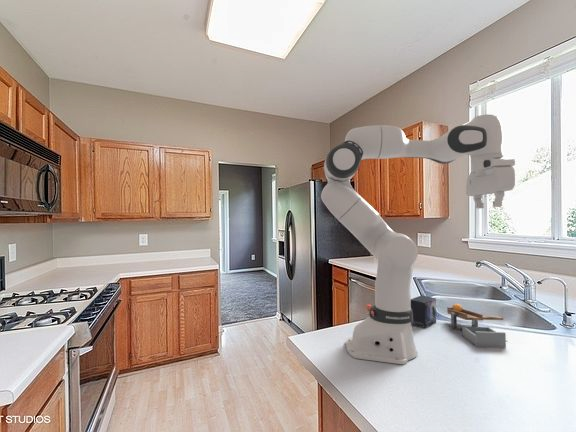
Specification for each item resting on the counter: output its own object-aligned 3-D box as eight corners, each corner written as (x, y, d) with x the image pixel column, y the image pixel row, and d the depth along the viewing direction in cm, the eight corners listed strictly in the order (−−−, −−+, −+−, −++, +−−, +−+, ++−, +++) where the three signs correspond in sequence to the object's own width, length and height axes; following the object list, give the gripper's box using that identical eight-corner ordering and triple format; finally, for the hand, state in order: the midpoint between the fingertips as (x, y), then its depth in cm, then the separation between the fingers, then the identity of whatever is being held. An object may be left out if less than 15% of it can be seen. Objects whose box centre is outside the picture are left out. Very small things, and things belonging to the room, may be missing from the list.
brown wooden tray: (465, 320, 103) (464, 313, 104) (447, 313, 118) (446, 307, 118) (506, 321, 102) (505, 314, 102) (482, 314, 116) (482, 308, 117)
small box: (425, 329, 110) (425, 302, 110) (409, 324, 115) (409, 299, 115) (437, 322, 117) (436, 297, 117) (421, 318, 122) (421, 294, 122)
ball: (455, 312, 114) (453, 303, 115) (451, 312, 117) (450, 303, 118) (464, 312, 113) (462, 303, 115) (460, 312, 117) (458, 303, 118)
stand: (453, 329, 109) (453, 314, 109) (448, 326, 113) (448, 311, 113) (480, 330, 108) (480, 315, 108) (475, 326, 112) (474, 312, 112)
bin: (476, 347, 94) (476, 332, 94) (462, 335, 103) (462, 322, 103) (505, 348, 93) (505, 332, 93) (489, 336, 102) (488, 323, 102)
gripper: (460, 171, 102) (461, 209, 102) (495, 159, 82) (497, 206, 81) (479, 171, 101) (480, 209, 101) (519, 158, 81) (520, 205, 81)
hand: (488, 207), depth 91 cm, fingers open, 8 cm apart
